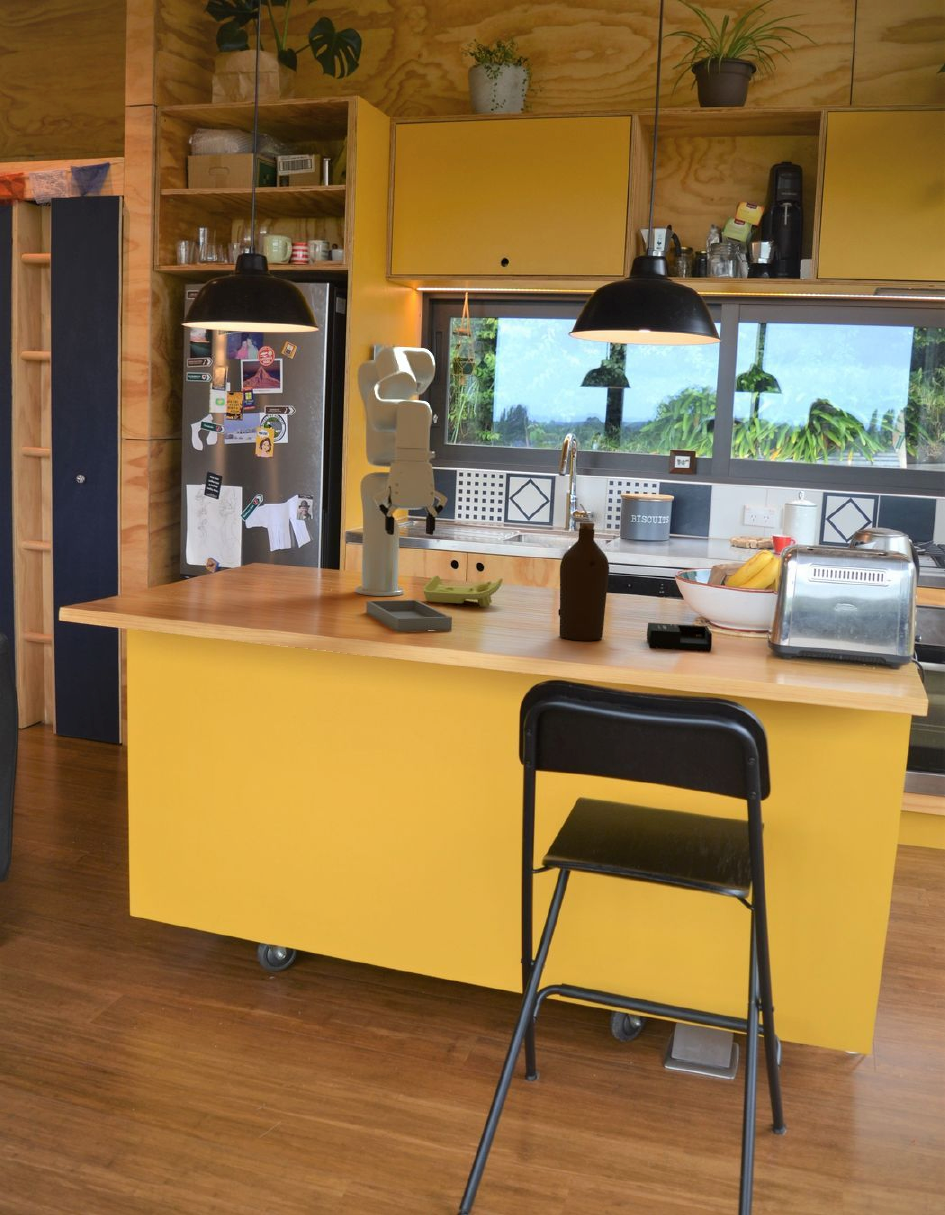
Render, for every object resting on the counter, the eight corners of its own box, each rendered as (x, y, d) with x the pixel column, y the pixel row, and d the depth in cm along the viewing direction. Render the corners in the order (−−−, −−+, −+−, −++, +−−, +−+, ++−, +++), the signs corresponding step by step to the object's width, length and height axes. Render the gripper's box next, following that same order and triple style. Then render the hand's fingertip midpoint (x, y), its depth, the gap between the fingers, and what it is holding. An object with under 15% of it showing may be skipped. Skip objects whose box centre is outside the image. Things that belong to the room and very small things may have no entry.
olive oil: (615, 638, 248) (622, 524, 244) (583, 643, 241) (589, 525, 237) (578, 630, 255) (584, 519, 251) (546, 635, 248) (552, 521, 244)
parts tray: (366, 613, 267) (366, 600, 267) (416, 612, 272) (416, 599, 271) (397, 632, 245) (397, 618, 244) (451, 630, 249) (451, 617, 249)
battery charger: (649, 648, 240) (650, 630, 239) (646, 640, 249) (647, 622, 248) (711, 652, 238) (712, 633, 238) (706, 643, 248) (707, 625, 247)
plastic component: (419, 591, 286) (438, 571, 293) (426, 616, 289) (445, 596, 297) (487, 595, 276) (505, 574, 283) (494, 620, 279) (511, 599, 287)
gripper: (443, 457, 259) (440, 532, 262) (369, 455, 253) (368, 532, 255) (454, 458, 252) (451, 536, 255) (379, 456, 246) (377, 536, 249)
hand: (410, 534), depth 255 cm, fingers open, 8 cm apart
